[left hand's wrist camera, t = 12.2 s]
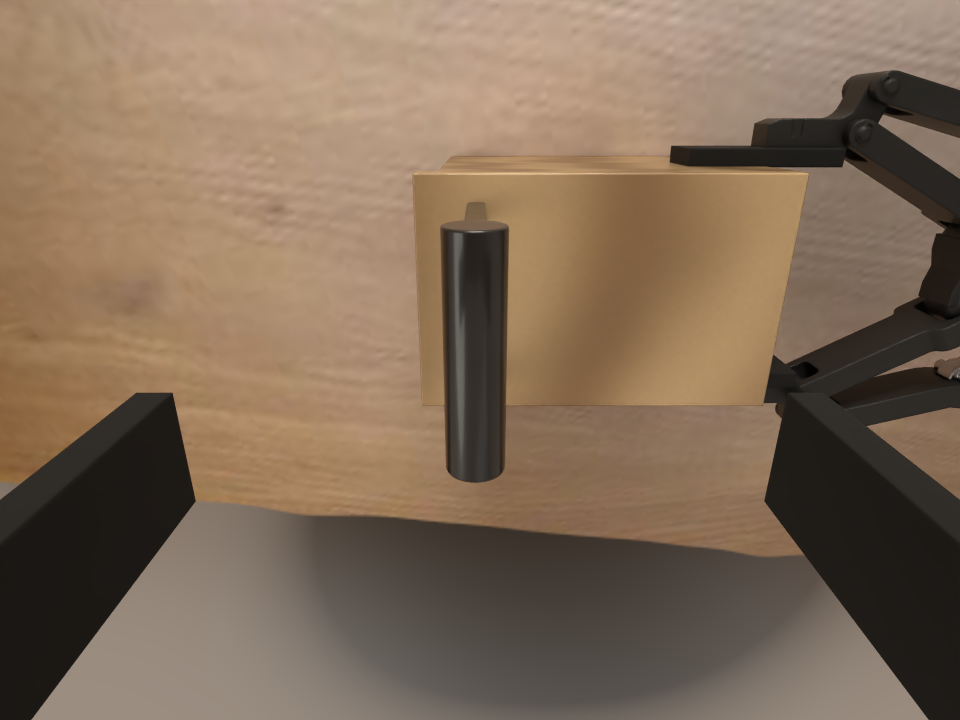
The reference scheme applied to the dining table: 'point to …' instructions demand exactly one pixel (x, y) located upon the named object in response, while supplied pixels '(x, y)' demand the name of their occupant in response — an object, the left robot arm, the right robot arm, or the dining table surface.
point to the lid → (595, 293)
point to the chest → (581, 164)
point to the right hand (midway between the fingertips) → (665, 270)
